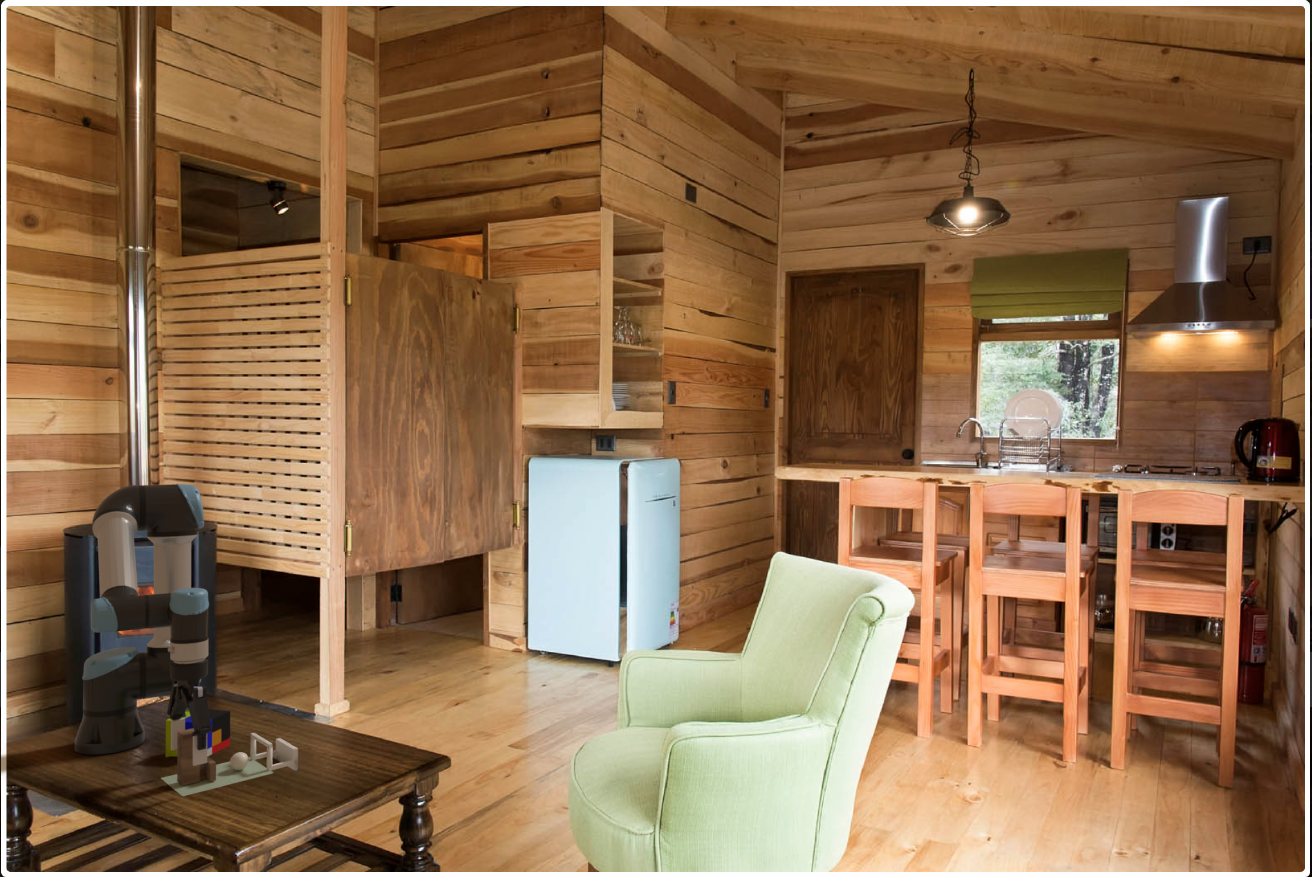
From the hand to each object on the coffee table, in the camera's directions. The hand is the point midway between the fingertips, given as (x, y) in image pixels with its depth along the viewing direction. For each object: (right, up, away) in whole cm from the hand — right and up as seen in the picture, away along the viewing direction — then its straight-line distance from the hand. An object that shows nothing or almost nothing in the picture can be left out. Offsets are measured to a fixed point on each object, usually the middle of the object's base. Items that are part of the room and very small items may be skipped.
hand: (188, 756), depth 205 cm
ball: (+8, -4, +8) cm, 12 cm away
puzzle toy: (-8, -7, +21) cm, 24 cm away
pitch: (+6, -7, +7) cm, 12 cm away
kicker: (+1, -6, +1) cm, 6 cm away
